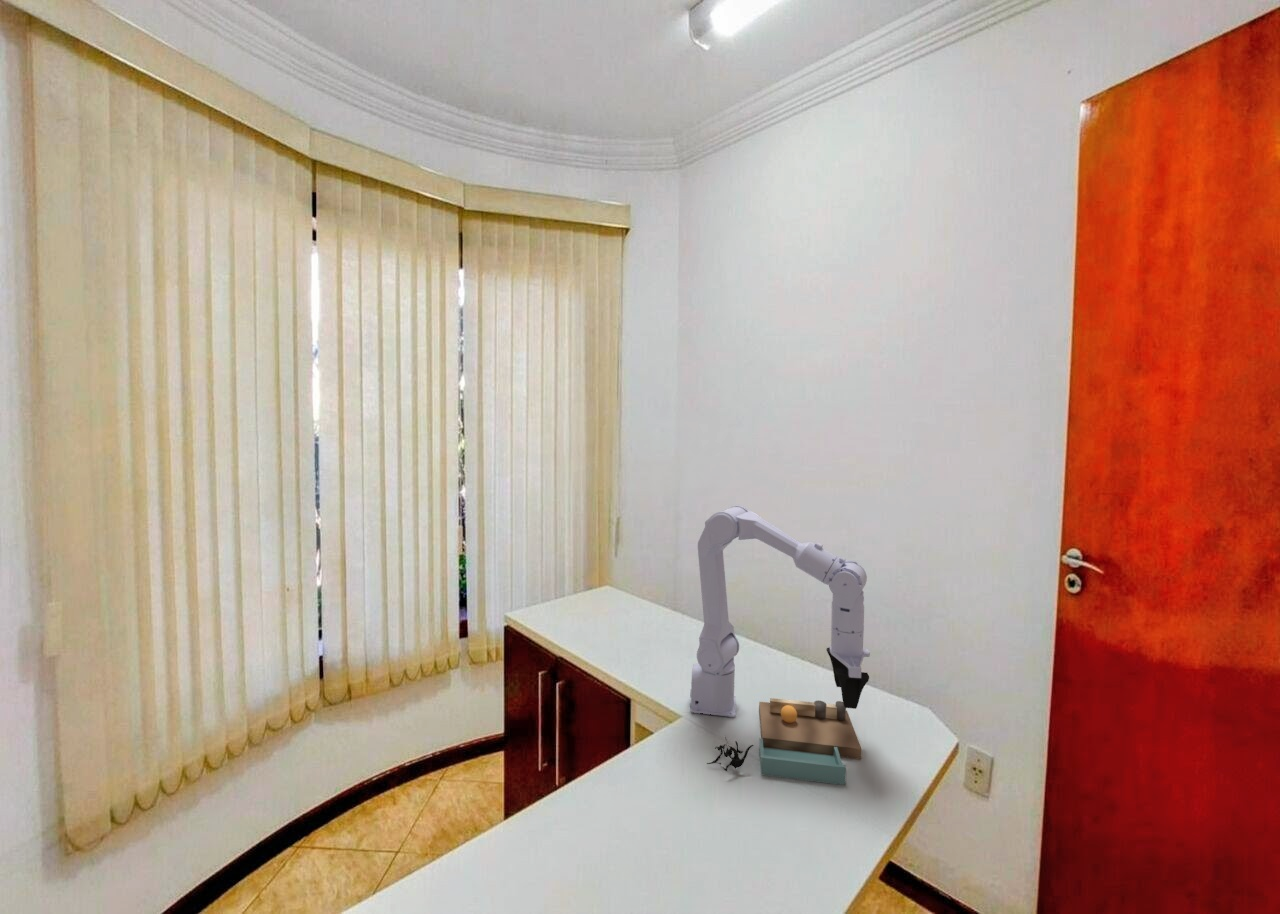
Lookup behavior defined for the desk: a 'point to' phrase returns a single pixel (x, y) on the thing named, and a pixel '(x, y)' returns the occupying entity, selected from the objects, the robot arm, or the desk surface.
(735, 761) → the creature
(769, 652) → the desk surface
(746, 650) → the desk surface
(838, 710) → the lever
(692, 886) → the desk surface
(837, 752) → the teal shallow crate
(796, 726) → the board
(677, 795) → the desk surface
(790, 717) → the ball
